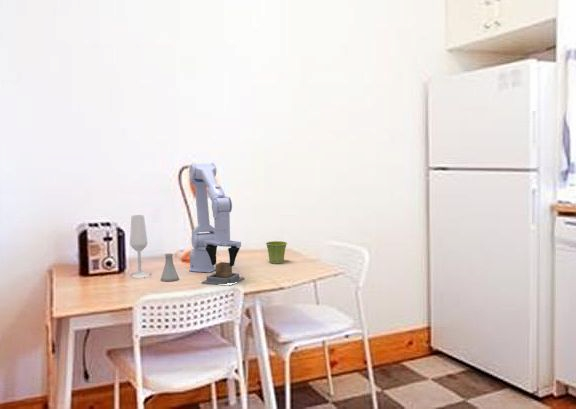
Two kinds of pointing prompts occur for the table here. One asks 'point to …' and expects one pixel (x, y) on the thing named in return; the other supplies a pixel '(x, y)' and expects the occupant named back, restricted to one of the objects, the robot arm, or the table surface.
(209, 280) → the holder
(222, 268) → the block
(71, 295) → the table surface
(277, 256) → the plant pot
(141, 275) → the champagne flute
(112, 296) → the table surface
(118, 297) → the table surface
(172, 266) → the flask
